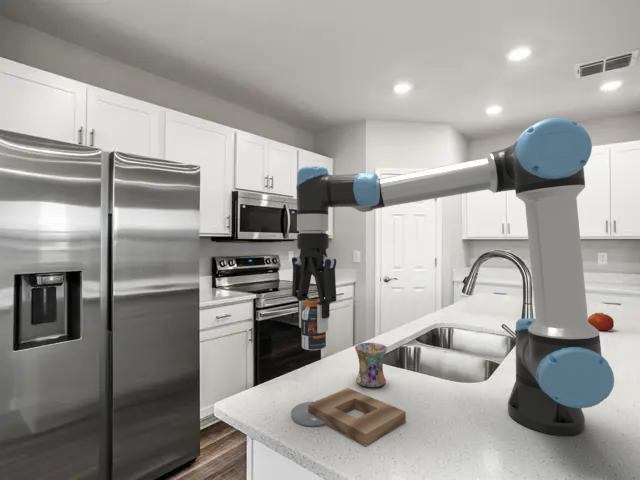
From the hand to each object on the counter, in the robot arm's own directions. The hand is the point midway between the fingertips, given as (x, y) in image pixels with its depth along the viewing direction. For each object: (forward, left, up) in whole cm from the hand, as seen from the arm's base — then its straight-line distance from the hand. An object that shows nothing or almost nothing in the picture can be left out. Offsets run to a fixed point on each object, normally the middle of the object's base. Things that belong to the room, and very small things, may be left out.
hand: (313, 329), depth 86 cm
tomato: (-30, -147, -21) cm, 151 cm away
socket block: (-8, -6, -21) cm, 23 cm away
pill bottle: (0, 0, -4) cm, 4 cm away
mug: (+4, -25, -21) cm, 33 cm away
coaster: (0, 0, -21) cm, 21 cm away
